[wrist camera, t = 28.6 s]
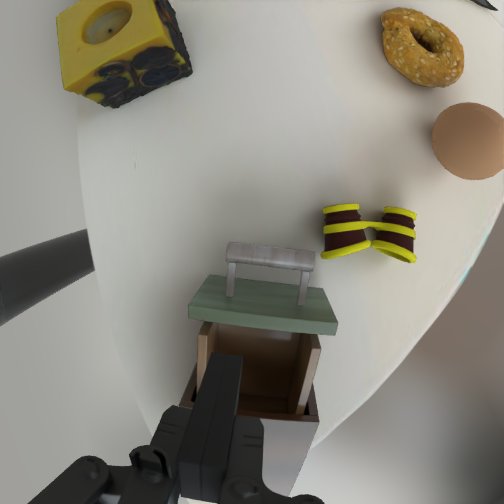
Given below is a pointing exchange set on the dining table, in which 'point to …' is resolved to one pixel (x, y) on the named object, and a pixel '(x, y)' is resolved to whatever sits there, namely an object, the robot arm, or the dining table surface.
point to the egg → (469, 141)
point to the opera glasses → (353, 237)
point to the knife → (484, 4)
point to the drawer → (264, 328)
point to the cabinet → (276, 438)
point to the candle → (120, 49)
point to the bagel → (421, 48)
